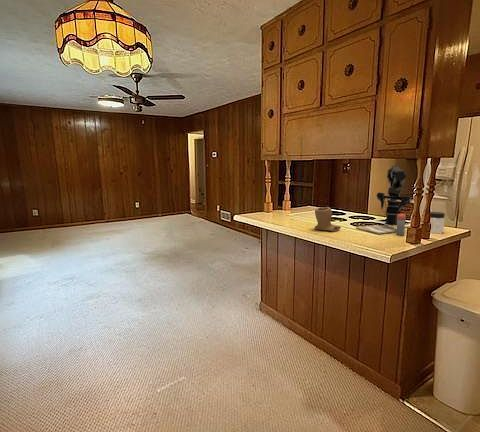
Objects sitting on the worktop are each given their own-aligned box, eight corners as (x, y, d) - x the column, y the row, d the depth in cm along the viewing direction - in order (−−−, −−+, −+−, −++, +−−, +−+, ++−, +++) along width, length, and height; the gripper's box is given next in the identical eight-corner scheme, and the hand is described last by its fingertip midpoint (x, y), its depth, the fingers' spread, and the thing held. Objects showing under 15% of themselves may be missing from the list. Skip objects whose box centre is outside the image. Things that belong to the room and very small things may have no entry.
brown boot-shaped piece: (310, 230, 192) (311, 207, 189) (319, 227, 200) (320, 205, 197) (332, 233, 181) (333, 209, 179) (341, 230, 190) (342, 207, 187)
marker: (399, 234, 179) (401, 213, 176) (405, 235, 175) (407, 214, 173) (394, 234, 177) (396, 214, 175) (400, 236, 173) (402, 215, 171)
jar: (428, 233, 180) (430, 213, 178) (424, 230, 188) (426, 211, 186) (445, 234, 178) (447, 214, 175) (440, 231, 185) (443, 212, 183)
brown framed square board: (377, 226, 201) (377, 223, 201) (402, 231, 184) (402, 229, 184) (355, 228, 194) (355, 226, 194) (379, 235, 177) (379, 232, 177)
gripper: (378, 180, 185) (371, 202, 182) (412, 183, 174) (405, 207, 171) (381, 188, 194) (374, 209, 191) (413, 192, 182) (407, 214, 179)
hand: (389, 210), depth 183 cm, fingers open, 9 cm apart
